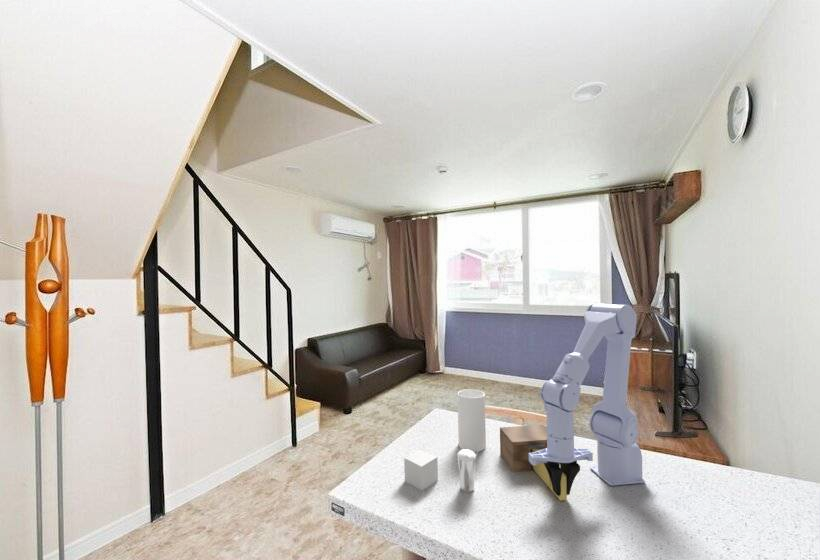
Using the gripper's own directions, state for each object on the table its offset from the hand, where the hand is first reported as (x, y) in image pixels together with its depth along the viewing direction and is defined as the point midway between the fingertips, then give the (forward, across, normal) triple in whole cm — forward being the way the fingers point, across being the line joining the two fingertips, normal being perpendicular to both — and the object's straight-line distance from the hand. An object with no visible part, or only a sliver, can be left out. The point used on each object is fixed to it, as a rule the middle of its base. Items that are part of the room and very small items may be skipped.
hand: (561, 492), depth 79 cm
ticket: (+1, 0, -6) cm, 6 cm away
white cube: (+2, +31, -12) cm, 33 cm away
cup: (+2, +13, -28) cm, 31 cm away
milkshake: (+2, +20, -6) cm, 21 cm away
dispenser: (+1, 0, -17) cm, 17 cm away
